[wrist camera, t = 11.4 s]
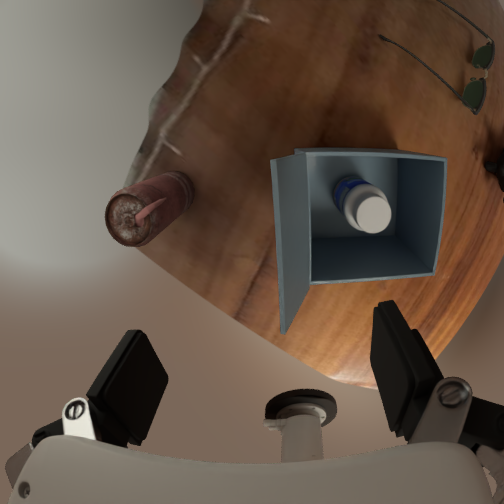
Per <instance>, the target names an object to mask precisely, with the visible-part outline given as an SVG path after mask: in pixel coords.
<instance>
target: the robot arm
mask: <svg viewBox="0 0 504 504" xmlns="http://www.w3.org/2000/svg"><path fill="white" fill-rule="evenodd" d="M370 363H371V367H372V370H373V373H374V376H375V379H376V383H377V386H378V389H379V392H380V396H381V399H382V403H383V406H384V410H385V413H386V417H387V420H388V425H389V428H390V430H391V432H393V431H395V433H396V437H400V436H404V438H405V440H406V441H408V443H407V445H401V446H395V447H391V448H386V449H381V450H376V451H371V452H367V453H361V454H356V455H350V456H344V457H338V458H330V459H323V446H322V431H321V423H322V422H324V420H325V419H326V411H325V409H324V408H323V407H321V406H320V405H317V404H313V403H297V404H292V405H289V406H286V407H284V408H282V409H281V410H280V411H279V412H278V413H277V415H276V420H271V419H264V422H263V425H264V426H269V430H279V431H281V435H282V451H281V453H282V454H281V463H269V464H268V463H267V464H240V463H219V462H206V461H195V460H187V459H180V458H173V457H167V456H161V455H154V454H150V453H145V452H140V451H136V450H132V449H128V447H127V443H128V442H129V443H130V444H133V445H138V446H141V443H142V441H143V440H145V439H146V437H147V434H148V431H149V429H150V426H151V424H152V421H153V419H154V416H155V413H156V411H157V408H158V406H159V403H160V401H161V398H162V396H163V393H164V391H165V389H166V386H167V384H168V375H167V373H166V371H165V369H164V367H163V366H162V364H161V362H160V360H159V358H158V357H157V355H156V353H155V351H154V349H153V347H152V345H151V343H150V341H149V339H148V338H147V335H146V334H145V333H143V332H142V331H141V330H128V331H127V332H126V334H125V335H124V336H123V338H122V339H121V341H120V342H119V344H118V345H117V347H116V348H115V350H114V351H113V353H112V355H111V356H110V358H109V359H108V360H107V362H106V364H105V365H104V367H103V368H102V370H101V371H100V373H99V374H98V376H97V378H96V379H95V381H94V382H93V384H92V386H91V387H90V389H89V391H88V392H87V394H86V396H87V397H88V398H89V400H88V402H87V401H86V400H85V399H83V398H75V399H73V400H71V401H69V402H68V403H67V404H66V405H65V407H64V408H63V411H62V418H61V419H59V420H57V421H55V422H53V423H50V424H49V425H46V426H44V427H42V428H40V429H38V430H37V431H36V432H35V433H34V435H33V438H32V444H31V443H30V442H29V443H28V444H27V445H26V446H24V447H23V448H22V449H21V450H19V451H18V452H17V453H15V454H14V455H13V456H12V457H11V458H9V460H8V461H7V463H6V466H5V469H6V473H7V475H8V478H9V481H10V483H11V486H12V488H13V491H12V493H11V495H10V498H9V500H8V503H7V504H504V406H502V405H499V404H496V403H492V402H489V401H486V400H483V399H479V398H476V397H473V396H472V389H471V387H470V385H469V384H468V383H467V382H466V381H465V380H463V379H461V378H459V377H447V378H445V379H444V377H443V375H442V373H441V371H440V369H439V367H438V365H437V363H436V362H435V360H434V358H433V356H432V354H431V352H430V351H429V349H428V347H427V345H426V343H425V342H424V340H423V338H422V336H421V335H420V333H419V332H418V330H417V329H412V330H411V329H410V327H409V326H408V324H407V322H406V320H405V319H404V317H403V315H402V314H401V312H400V310H399V309H398V307H397V305H396V304H395V302H394V301H393V300H389V301H384V302H379V303H378V307H374V312H373V329H372V342H371V353H370ZM482 467H485V468H487V469H488V470H489V471H490V473H489V474H490V475H491V476H492V477H493V478H494V479H495V480H496V483H497V489H496V493H495V494H494V496H493V497H492V494H491V490H490V486H489V483H488V481H487V478H486V475H485V472H484V470H483V468H482Z"/></svg>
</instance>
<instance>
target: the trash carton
mask: <svg viewBox="0 0 504 504" xmlns="http://www.w3.org/2000/svg"><path fill="white" fill-rule="evenodd" d="M294 153H295V154H300V153H306V159H307V178H308V201H309V245H310V283H309V285H316V284H333V283H349V282H363V281H376V280H389V279H400V278H411V277H422V276H432V275H435V270H436V265H437V259H438V254H439V248H440V242H441V235H442V227H443V219H444V209H445V198H446V181H447V158H445V157H440V156H434V155H429V154H423V153H417V152H411V151H404V150H395V149H376V148H295V149H294ZM347 177H358V178H361V179H363V180H365V181H367V182H369V183H370V184H372V185H374V186H376V187H378V188H379V189H380V190H381V191H382V192H383V193H384V194H385V196H386V198H387V201H388V204H389V206H390V209H391V219H390V222H389V224H388V225H387V227H386V228H385V229H384V230H382V231H380V232H378V233H368V232H365V231H361V230H358V229H356V228H354V227H352V226H351V225H350V224H349V222H348V221H347V220H346V219H345V217H344V216H343V215H342V213H341V212H340V211H339V210H338V208H337V207H336V205H335V203H334V198H333V195H334V190H335V188H336V186H337V184H338V183H339V182H340V181H341V180H343V179H344V178H347Z"/></svg>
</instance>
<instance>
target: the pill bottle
mask: <svg viewBox="0 0 504 504" xmlns="http://www.w3.org/2000/svg"><path fill="white" fill-rule="evenodd" d="M333 198H334V203H335V205H336V207H337V208H338V210H339V211H340V212H341V213H342V215H343V216H344V217H345V219H346V220H347V221H348V222H349V224H350V225H351V226H352V227H354V228H356V229H358V230H361V231H365V232H368V233H378V232H380V231H382V230H384V229H385V228H386V227H387V225H388V224H389V222H390V219H391V209H390V206H389V204H388V201H387V198H386V196H385V194H384V193H383V192H382V191H381V190H380V189H379V188H378V187H376V186H374V185H372V184H370V183H369V182H367V181H365V180H363V179H361V178H358V177H347V178H344V179H343V180H341V181H340V182H339V183H338V184H337V186H336V188H335V190H334V195H333Z"/></svg>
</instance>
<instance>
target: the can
mask: <svg viewBox="0 0 504 504" xmlns="http://www.w3.org/2000/svg"><path fill="white" fill-rule="evenodd" d="M193 200H194V187H193V184H192V182H191V181H190V179H189V178H188V177H187V176H186V175H184V174H183V173H180V172H177V171H170V172H167V173H164V174H161V175H158V176H155V177H153V178H150V179H147V180H144V181H142V182H139V183H136V184H134V185H131V186H129V187H126V188H124V189H121V190H119V191H117V192H116V193H115V194H114V195H113V196H112V197H111V199H110V201H109V203H108V205H107V207H106V211H105V221H106V226H107V229H108V231H109V233H110V234H111V236H112V237H113V238H114V239H115V240H116V241H117V242H118V243H120V244H122V245H124V246H128V247H140V246H143V245H146V244H147V243H149V242H150V241H151V240H152V239H154V238H155V237H156V236H157V235H158V234H159V233H160V232H161V231H163V230H164V229H165V228H166V227H167V226H168V225H170V224H171V223H172V222H173V221H174V220H175V219H177V218H178V217H179V216H180V215H181V214H182V213H184V212H185V211H186V210H187V209H188V208H189V207H190V206H191V204H192V203H193Z"/></svg>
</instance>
